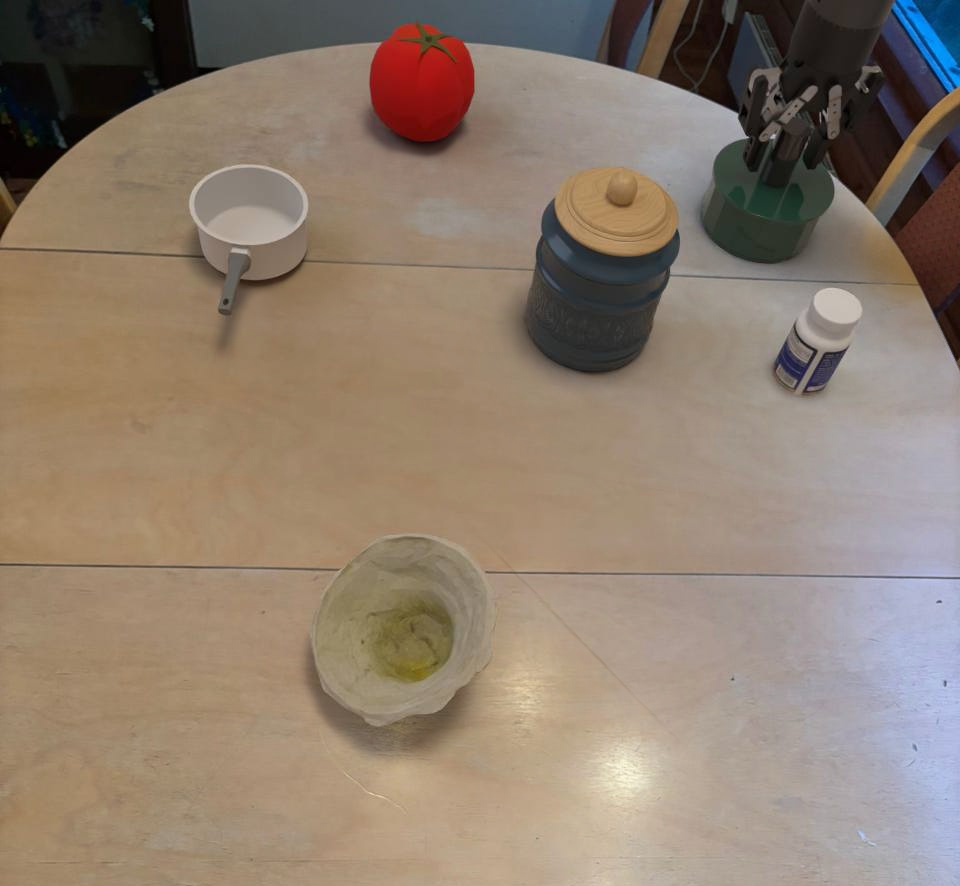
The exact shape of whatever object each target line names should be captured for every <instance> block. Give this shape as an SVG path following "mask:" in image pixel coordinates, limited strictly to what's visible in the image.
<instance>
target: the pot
mask: <svg viewBox="0 0 960 886" xmlns="http://www.w3.org/2000/svg"><path fill="white" fill-rule="evenodd" d="M819 220H820V217H819V218H817V219H816V220H814V221H811V222H808V223H804V224H799V225H778V224H772V223H767V222H764V221H760V220H757V219H755V218H752V217H750V216H748V215H746V214H744V213H742V212H741V211H739V210H737V209H736V208H735V207H733V206H732V205H731V204H730V203H728V202H727V201H726V200H725V199H724V198H723V196H722V195H721V194H720V193H719V191H718V190H717V188H716V186H715V183H714V180H713V176H712V177H711V180H710V183H709V186H708V188H707V192H706V194H705V197H704V199H703V203H702V206H701V222H702V226H703V228H704V231H705V232H706V233H707V235H708V236H709V237H710V239H711V240H712V241H713V242H714V243H715V244H716V245H718V246H719V247H720V248H722V249H723V250H724V251H725V252H728V253H730V254H731V255H733V256H736V257H738V258H740V259H743V260H747V261H750V262H755V263H764V264H771V263H772V264H773V263H780V262H785V261H788V260H791V259H793V258H794V257H796V256H797V255H799V254H801V252H802V251H803V250H804V249H805V247H806V246H807V244H808V242H809V240H810V238H811V235H812V234H813V232H814V230H815V228H816V226H817V223H818V222H819Z"/></svg>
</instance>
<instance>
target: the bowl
mask: <svg viewBox="0 0 960 886" xmlns="http://www.w3.org/2000/svg"><path fill="white" fill-rule="evenodd" d="M497 601H498V600H497V593H496V591H495V588H494V586H493V584H492V583H491V581H490V578H489V576H488V575H487V573H486V571H485V569H484V568H483V567H482V566H481V565H480V564H479V562H478V560H477V558H475V556H474V555H473V554H472V553H471V551H470V550H469V549H467V548H466V547H465V546H463V545H461V544H459V543H457V542H455V541H453V540H450V539H446V538H443V537H441V536H436V535H433V534H427V533H419V532H411V533H396V534H387V535H383V536H380V537H377V538H376V539H374V540H372V541H371V542H370V543H369V544H367V545H366V546H365V547H364V548H363V549H362V550H361V551H359V552H358V553H356V555H355V556H354V557H353V558H352V559H350V560H349V561H348V562H347V563H346V564H345V565H344V566H343V567H341V568H340V569H339V570H337V571H336V572H335V574H333V576H332V578H331V579H330V580H329V581H328V582H327V584H326V586H325V588H324V590H323V591H322V593H321V596H320V597H319V601H318V603H317V607H316V610H315V613H314V619H313V623H312V626H311V628H310V631H309V634H308V637H310V641H311V643H310V644H311V652H312V655H313V657H314V666H315V669H316V672H317V674H318V678H319V681H320V685H321V688H322V690H323V691H324V692H323V693H326V694H327V695H328V696H330V697H331V698H332V699H333V700H335V702H337V703H338V704H339V705H340V706H341V707H342V708H344V709H345V710H347V711H350V712H352V713H354V714H356V715H358V716H360V717H362V718H363V719H364V721H365V723H367V724H369V725H371V726H373V727H383V726H388V725H391V724H392V723H395V722H398V721H399V720H402V719H404V718H407V717H410V716H413V715H428V714H435V713H437V712H439V711H440V710H442V709H443V708H444V707H445V706H446V705H447V704H448V703H449V702H450V701H451V699H452V698H453V697H454V696H455V694H456V692H457V691H458V690H459V689H460V688H462V687H463V686H466V685H467V684H468V683H469V682H470V681H471V680H472V678H473V677H475V676H478V674H480V673H481V672H482V671H484V670H485V669H486V668H487V667H488V666H489V665H490V662H491V660H492V659H493V649H492V636H493V634H494V630H495V628H496V624H497V619H498V612H497V607H498V605H497V603H498V602H497Z"/></svg>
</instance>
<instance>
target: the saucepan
mask: <svg viewBox="0 0 960 886" xmlns="http://www.w3.org/2000/svg"><path fill="white" fill-rule="evenodd" d="M188 207H189V213H190V215H191V218H192V219H193V222H195V223H196V227H197V232H198V237H199V243H200V247H201V252H202V254H203V256H204V258H205V259H206V261H208V263H209V264H210V265H211V266H212V267H213V268H214V269H216V270H217V271H219V272H220V273H223V274H225V275H226V276H225V279H224V284H223V288H222V291H221V295H220V299H219V302H218V308H217V311H218V314H220V315H221V316H225V317H227V316H231V315H232V313H233V308H234V304H235V300H236V297H237V294H238V290H239V286H240V282H241V280H245V281H249V280H250V281H262V280H269V279H274V278H277V277H279V276H283V275H285V274H286V273H289V272H290V271H291V270H294V269H295V268H296V267H297V266H298V265H299V264H300V263H301V262H302V261H303V259H304V257H305V255H306V252H307V250H308V231H307V221H306V219H307V214H308V212H309V200H308V195H307V193H306V191H305V189H304V188H303V186H302V185H301V184H300V182H298V181H297V179H294V178H293V177H292V176H290V175H289V174H288V173H286V172H284V171H281V170H280V169H276V168H274V167H271V166H266V165H260V164H248V163H247V164H235V165H230V166H225V167H223V168H220V169H217V170H215V171H213V172H211V173H209V174H207V175H205V176H204V177H203V178H202V179H200V180H199V181H198V182H197V183H196V185H195V186H194V188H192V191H191V193H190V196H189V200H188Z"/></svg>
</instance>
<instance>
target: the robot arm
mask: <svg viewBox="0 0 960 886" xmlns="http://www.w3.org/2000/svg"><path fill="white" fill-rule="evenodd" d="M895 3H896V0H804V2H803V5H802V8H801V11H800V13H799V15H798V18H797V20H796V23H795V26H794V28H793V31H792V34H791V37H790V43H789V47H788V51H787V54H786V55H785V56H784V58H783V59H782V60H781V61H780V62H779V64H778V65H777V66H776V67H770V68H763V69H762V66H761V64H759V63H754V64H752V65H751V66H750V67H749V68H748V71H747V75H746V80H745V84H744V89H743V93H742V97H741V102H740V105H739V110H738V115H737V120H738V122H739V124H740V126H741V129H742V130H743V133H744V135H745V136H746V137H747V138H748V141H747V144H746V146H745V149H744V151H743V160H744V162H745V164H746V166H747V168H748V170H749V172H757V171H758V169H759V167H760V164H761V162H762V159H763V157H764V154H765V152H766V149H767V147H768V144H769V140H768V139H769V138H771V137H772V136H773V135H774V134H776V132H777V131H778V128H779V127H780V126H781V125H786V124H787V123H788V122H789V121H790V120H791V118H792V117H795V116H796V114H803V113H806V112H811V113H818V114H819V123H820V124H819V125H815V126H814V129H813V130H812V132H811V134H810V138H809V139H808V142H807V143H806V146H805V148H804V150H805V151H804V154H803V157H802V159H803V162H804V164H805V166H806V168H807V170H814V169H816V167H817V165H818V164H820V163H822V162H823V161H824V159H825V157H826V154H827V152H828V151H829V148H830V146H831V144H832V142H833V140H834V139H836V138H837V137H838V136H839V134H840V133H843V132H846V133H848V134H852V133H854V132H855V131H857V129H858V128H859V126H860V125H861V123H862V122H863V120H864V118H865V116H866V115H867V113H868V111H869V109H870V108H871V107H872V105H873V103H874V101H875V100H876V99H877V96H878V95H879V93H880V92H881V90H882V89H883V87H884V86H885V84H886V81H887V78H886V76H885V75H884V72H883V71H882V69H881V67H880V66H879V64H878V62H876V61H875V60H874V61H873V60H872V61H870V62H868V60H869V59H870V56H871V53H873V50H874V47H875V46H876V44H877V41H878V39H879V37H880V35H881V32H882V30H883V28H884V26H885V24H886V22H887V20H888V18H889V15H890V14H891V12H892V9H893V7H894V5H895ZM867 62H868V63H867ZM777 83H778V85H777V86H776V87H775V88H774V89H773V90H772V88H773V87H774V86H775V85H776V84H777ZM851 88H852V89H851ZM850 89H851V91H850V92H849V94H848V95H847V97H846V99H845V101H844V103H842V96H843V95H844V94H846V93H847V92H848V91H849V90H850ZM771 90H772V92H771ZM766 97H767V98H766ZM782 101H784V104H785V106H784V107H783V104H782ZM764 103H765V104H764Z"/></svg>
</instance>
